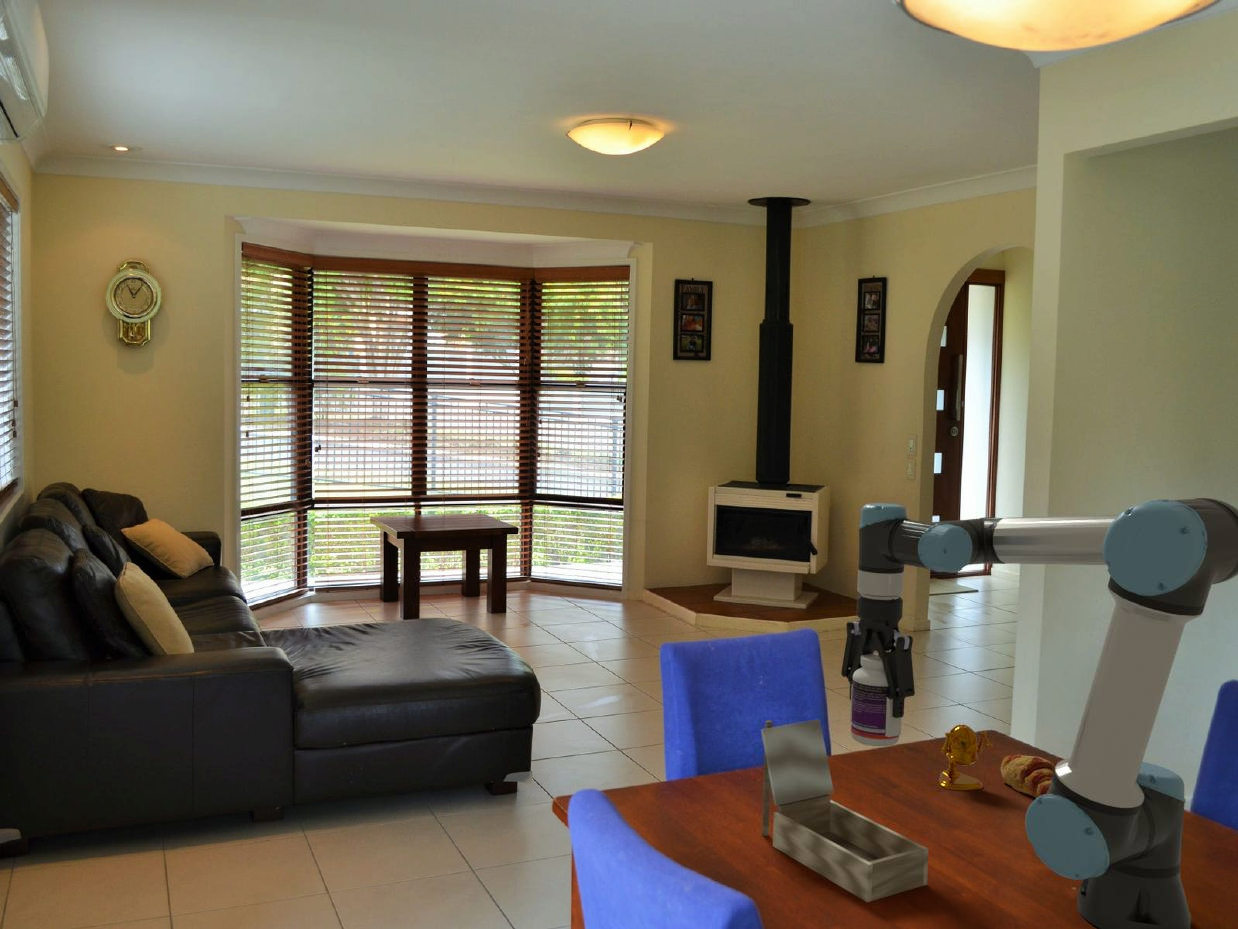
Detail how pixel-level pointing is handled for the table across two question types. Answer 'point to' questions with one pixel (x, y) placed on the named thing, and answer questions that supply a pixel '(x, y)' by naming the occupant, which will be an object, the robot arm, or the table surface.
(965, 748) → the figurine
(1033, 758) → the croissant
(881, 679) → the pill bottle
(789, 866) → the table surface
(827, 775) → the grey wooden hinged box
